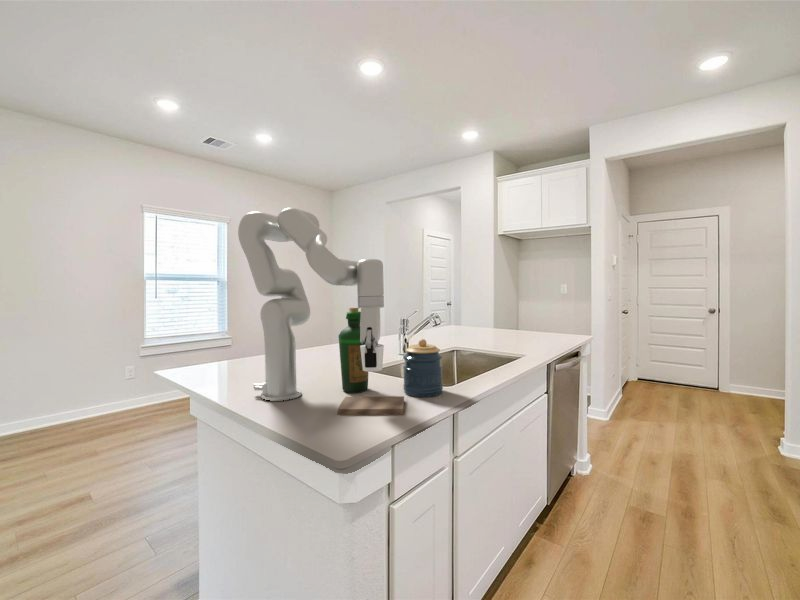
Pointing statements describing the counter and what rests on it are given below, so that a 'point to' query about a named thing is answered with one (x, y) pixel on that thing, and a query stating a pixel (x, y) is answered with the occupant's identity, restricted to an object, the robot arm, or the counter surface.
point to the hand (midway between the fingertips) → (372, 364)
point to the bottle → (352, 355)
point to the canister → (422, 370)
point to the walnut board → (372, 405)
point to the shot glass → (379, 358)
